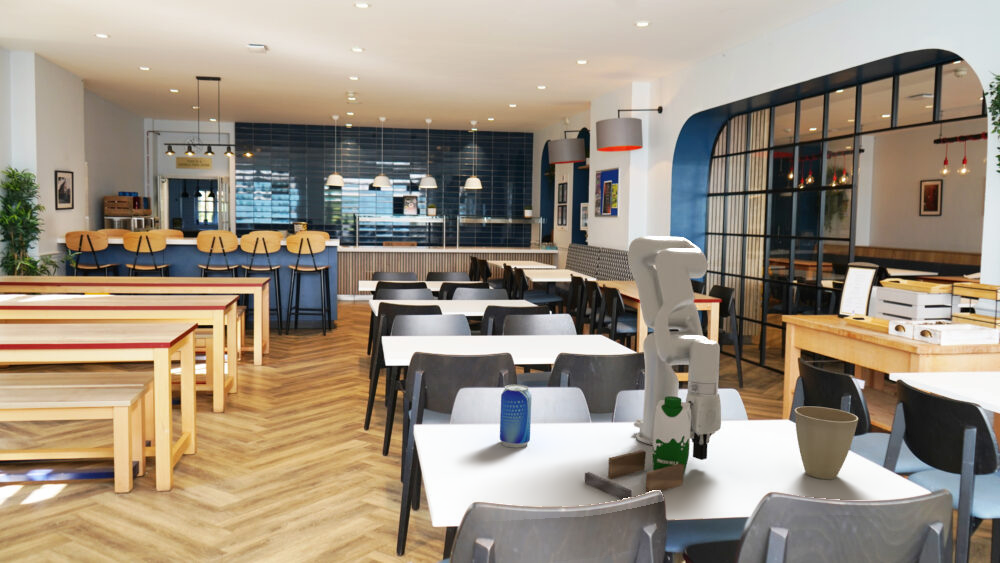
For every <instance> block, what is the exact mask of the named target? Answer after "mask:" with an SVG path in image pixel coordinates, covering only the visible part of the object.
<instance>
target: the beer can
mask: <svg viewBox="0 0 1000 563" xmlns="http://www.w3.org/2000/svg"><path fill="white" fill-rule="evenodd" d="M529 388H530V387H529V386H527V385H523V384H509V385H505V386H504V390H503V392H502V393H501V395H500V418H499V422H500V423H499V440H500V442H501V444H502V445H503V446H505V447H508V448H524V447H526V446H527V445H528V443H529V442H530V441H531V420H532V419H531V418H532V417H531V416H532V394H531V392H530V389H529Z"/></svg>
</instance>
